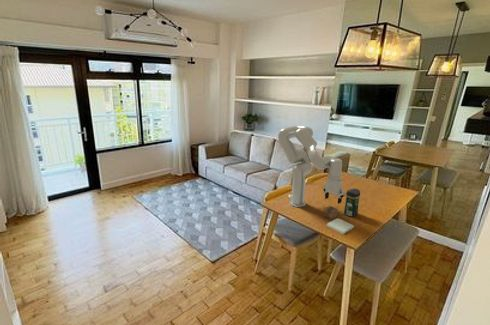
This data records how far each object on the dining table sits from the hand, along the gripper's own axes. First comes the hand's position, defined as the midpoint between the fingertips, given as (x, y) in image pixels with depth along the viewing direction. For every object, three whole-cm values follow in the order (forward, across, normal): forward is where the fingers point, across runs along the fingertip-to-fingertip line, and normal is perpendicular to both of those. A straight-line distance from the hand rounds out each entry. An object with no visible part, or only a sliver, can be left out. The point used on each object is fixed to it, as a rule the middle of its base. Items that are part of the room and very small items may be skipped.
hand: (332, 200), depth 174 cm
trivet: (+12, +11, -7) cm, 18 cm away
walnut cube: (+12, -1, 0) cm, 12 cm away
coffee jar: (+12, +6, +14) cm, 20 cm away
